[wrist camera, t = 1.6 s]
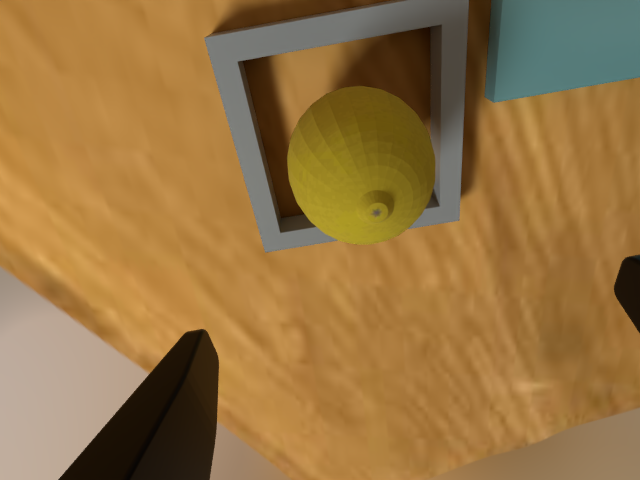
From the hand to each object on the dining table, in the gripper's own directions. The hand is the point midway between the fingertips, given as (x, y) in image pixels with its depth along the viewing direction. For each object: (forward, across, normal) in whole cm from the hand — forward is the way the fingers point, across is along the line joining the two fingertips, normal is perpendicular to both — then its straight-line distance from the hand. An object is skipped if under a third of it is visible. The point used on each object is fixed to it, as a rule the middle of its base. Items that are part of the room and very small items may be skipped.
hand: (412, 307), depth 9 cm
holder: (+12, 0, 0) cm, 12 cm away
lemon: (+12, 0, 0) cm, 12 cm away
